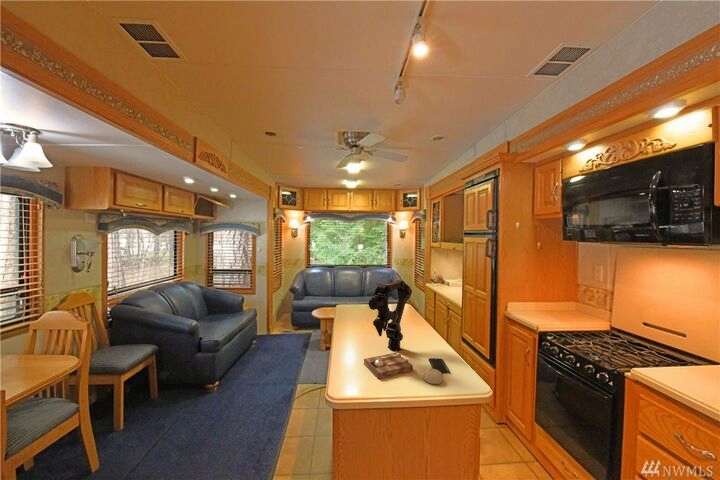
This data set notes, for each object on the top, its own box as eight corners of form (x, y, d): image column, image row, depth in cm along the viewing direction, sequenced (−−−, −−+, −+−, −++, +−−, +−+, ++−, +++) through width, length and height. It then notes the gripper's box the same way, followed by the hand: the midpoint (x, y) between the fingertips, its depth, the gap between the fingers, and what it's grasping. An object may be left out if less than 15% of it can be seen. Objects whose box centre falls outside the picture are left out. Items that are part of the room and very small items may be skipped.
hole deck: (395, 357, 153) (395, 350, 152) (412, 371, 138) (412, 363, 138) (363, 364, 144) (363, 357, 144) (378, 379, 130) (378, 371, 130)
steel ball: (373, 367, 141) (382, 369, 141) (373, 369, 136) (383, 372, 136) (375, 357, 142) (384, 359, 142) (375, 359, 137) (384, 361, 137)
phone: (442, 358, 151) (450, 372, 136) (442, 360, 151) (450, 374, 136) (428, 358, 151) (434, 371, 136) (427, 360, 151) (434, 373, 136)
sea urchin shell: (418, 371, 134) (430, 360, 134) (429, 382, 134) (441, 371, 135) (424, 382, 125) (437, 369, 125) (436, 393, 125) (448, 381, 126)
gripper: (393, 312, 142) (392, 341, 143) (400, 303, 160) (399, 330, 160) (373, 309, 146) (372, 338, 147) (382, 301, 164) (381, 327, 164)
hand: (382, 333), depth 154 cm, fingers open, 9 cm apart
